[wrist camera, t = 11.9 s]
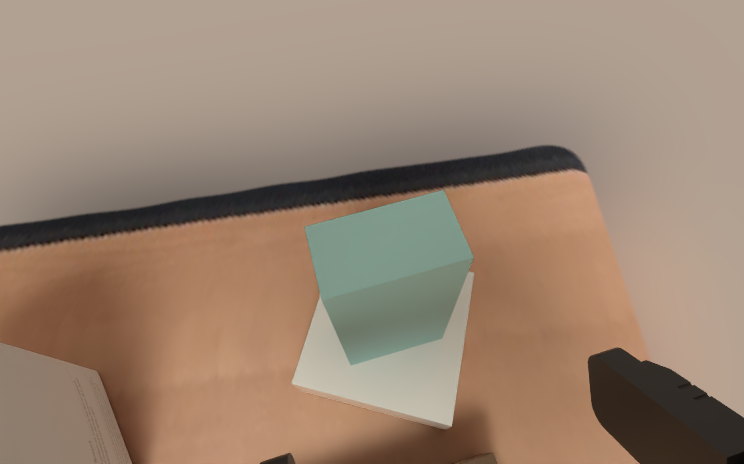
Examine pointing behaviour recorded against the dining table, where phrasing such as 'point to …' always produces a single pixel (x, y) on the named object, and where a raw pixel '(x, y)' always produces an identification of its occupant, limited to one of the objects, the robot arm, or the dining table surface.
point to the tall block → (390, 274)
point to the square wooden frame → (479, 459)
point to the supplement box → (54, 413)
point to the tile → (389, 370)
